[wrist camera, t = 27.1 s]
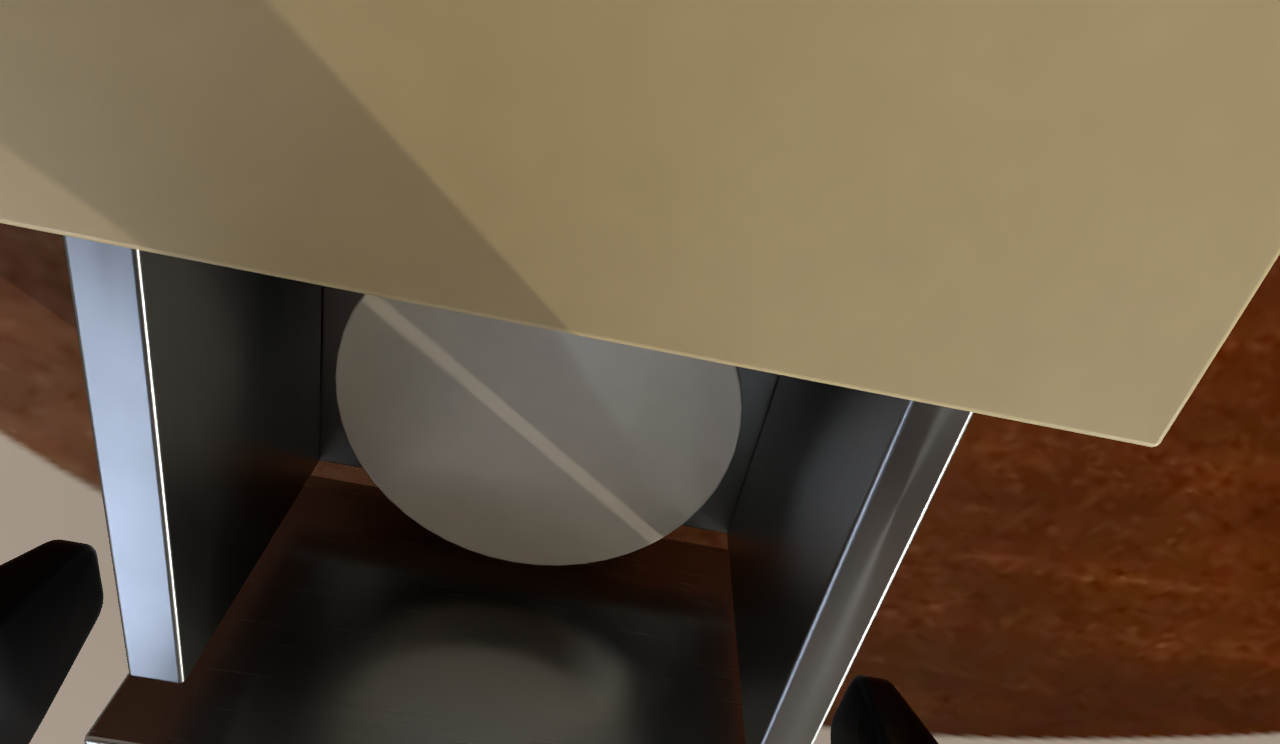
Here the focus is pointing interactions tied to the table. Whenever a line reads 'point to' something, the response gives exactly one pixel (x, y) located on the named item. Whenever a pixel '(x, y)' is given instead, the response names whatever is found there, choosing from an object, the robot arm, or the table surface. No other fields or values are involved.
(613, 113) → the tan cardboard box
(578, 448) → the cylinder
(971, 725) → the table surface
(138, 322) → the drawer
